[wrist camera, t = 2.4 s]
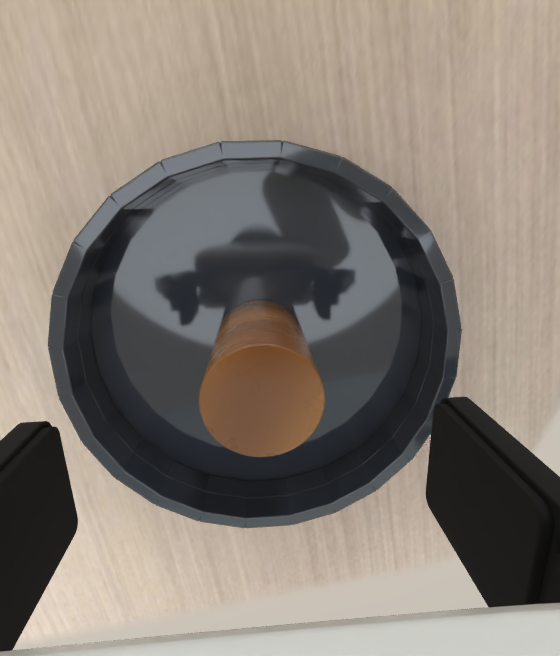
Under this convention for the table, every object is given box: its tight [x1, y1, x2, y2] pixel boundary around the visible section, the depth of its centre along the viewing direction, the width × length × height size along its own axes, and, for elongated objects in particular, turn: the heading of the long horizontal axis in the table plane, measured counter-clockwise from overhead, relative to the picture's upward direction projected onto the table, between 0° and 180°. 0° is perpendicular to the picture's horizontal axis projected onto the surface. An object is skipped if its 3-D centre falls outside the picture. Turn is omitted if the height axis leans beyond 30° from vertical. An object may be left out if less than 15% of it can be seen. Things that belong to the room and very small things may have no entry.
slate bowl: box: [48, 140, 462, 528], centre depth 17 cm, size 16×16×3 cm
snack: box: [199, 300, 325, 457], centre depth 15 cm, size 4×4×6 cm
